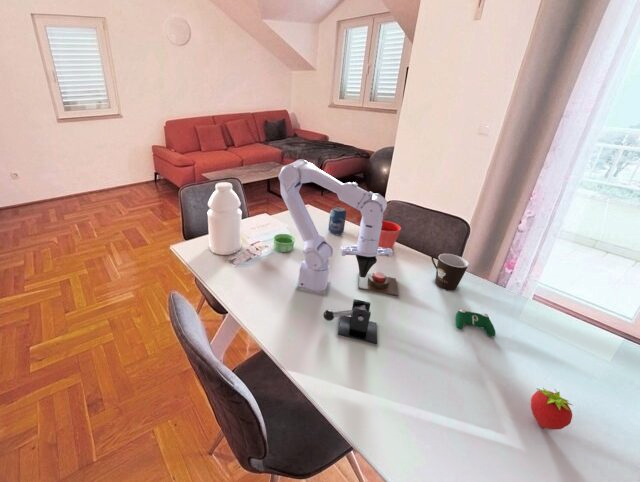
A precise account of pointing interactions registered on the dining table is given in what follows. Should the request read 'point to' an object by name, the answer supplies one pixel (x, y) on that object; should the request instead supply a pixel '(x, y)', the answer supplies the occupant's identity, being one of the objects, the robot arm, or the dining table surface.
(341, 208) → the soda can
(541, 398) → the strawberry
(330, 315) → the lever
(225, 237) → the bottle
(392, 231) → the flower pot
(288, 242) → the ramekin
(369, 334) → the bracket
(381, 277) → the button
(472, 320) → the gaming controller
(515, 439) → the dining table surface
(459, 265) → the coffee mug
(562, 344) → the dining table surface
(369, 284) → the button block
